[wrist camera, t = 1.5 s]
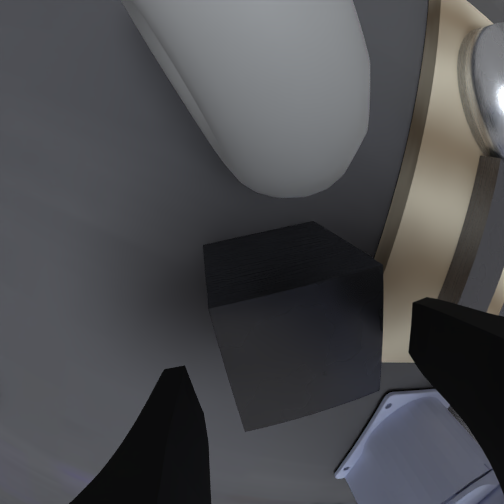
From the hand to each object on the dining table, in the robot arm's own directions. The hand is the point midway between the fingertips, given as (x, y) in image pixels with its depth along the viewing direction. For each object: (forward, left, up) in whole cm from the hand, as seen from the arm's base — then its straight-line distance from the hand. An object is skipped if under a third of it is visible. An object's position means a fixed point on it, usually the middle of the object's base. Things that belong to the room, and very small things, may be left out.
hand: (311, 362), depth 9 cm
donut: (+8, +5, -6) cm, 11 cm away
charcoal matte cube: (0, 0, -6) cm, 6 cm away
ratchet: (+8, -11, -5) cm, 15 cm away
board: (+8, -11, -6) cm, 15 cm away
